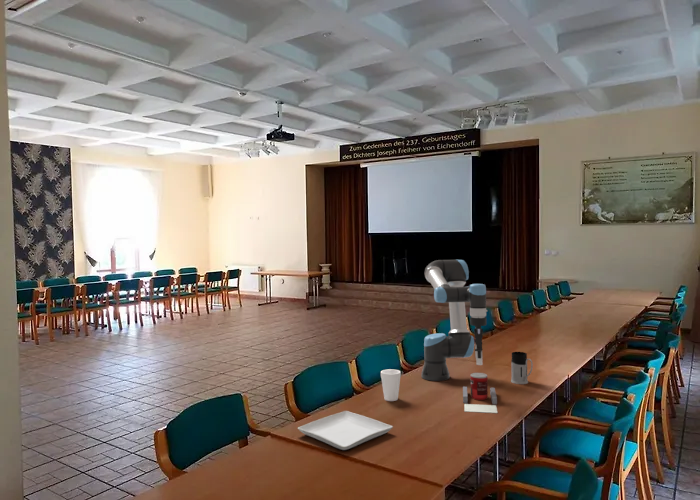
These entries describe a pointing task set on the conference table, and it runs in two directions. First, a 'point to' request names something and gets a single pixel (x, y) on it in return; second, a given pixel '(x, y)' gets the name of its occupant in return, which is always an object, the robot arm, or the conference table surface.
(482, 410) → the chute
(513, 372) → the white and black mug
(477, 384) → the canned food
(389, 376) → the foam cup
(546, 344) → the conference table surface
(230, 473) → the conference table surface
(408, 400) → the conference table surface
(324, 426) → the square plate
